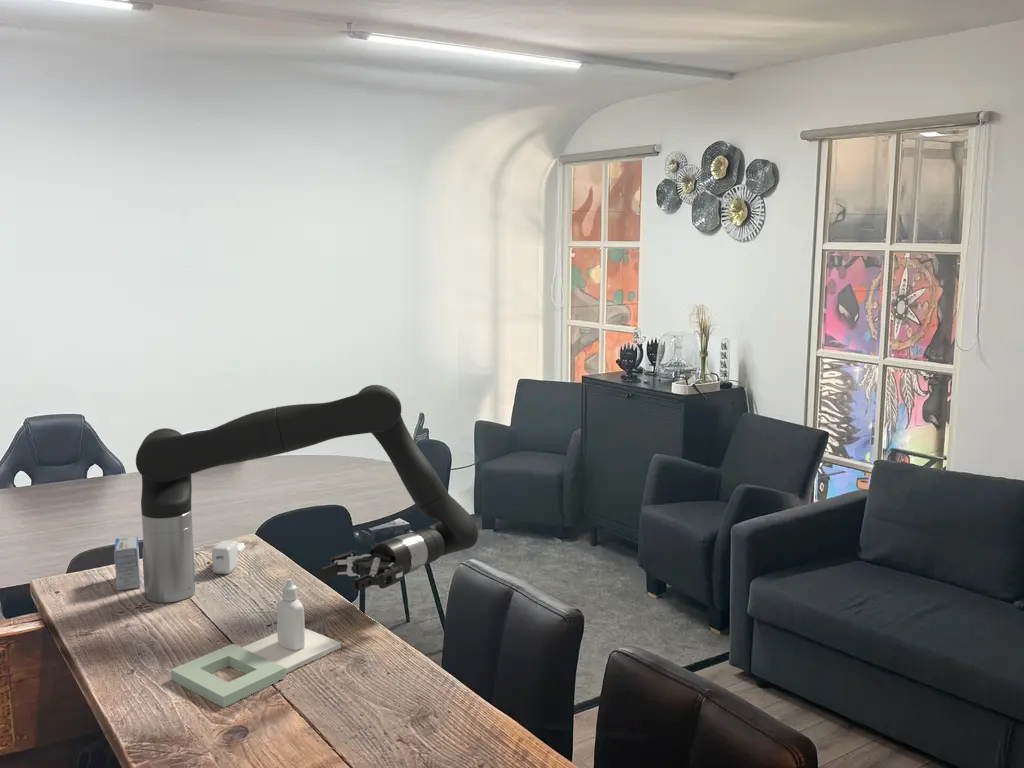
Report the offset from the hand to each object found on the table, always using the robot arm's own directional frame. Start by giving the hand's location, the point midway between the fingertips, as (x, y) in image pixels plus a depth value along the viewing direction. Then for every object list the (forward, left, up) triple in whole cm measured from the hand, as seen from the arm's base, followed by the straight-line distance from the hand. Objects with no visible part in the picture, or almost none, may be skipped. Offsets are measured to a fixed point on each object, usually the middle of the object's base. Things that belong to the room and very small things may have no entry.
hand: (337, 580), depth 168 cm
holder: (0, -24, -9) cm, 26 cm away
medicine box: (-50, -12, -10) cm, 52 cm away
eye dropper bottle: (0, -11, -9) cm, 14 cm away
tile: (0, -11, -9) cm, 14 cm away
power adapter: (-42, +7, -10) cm, 44 cm away
